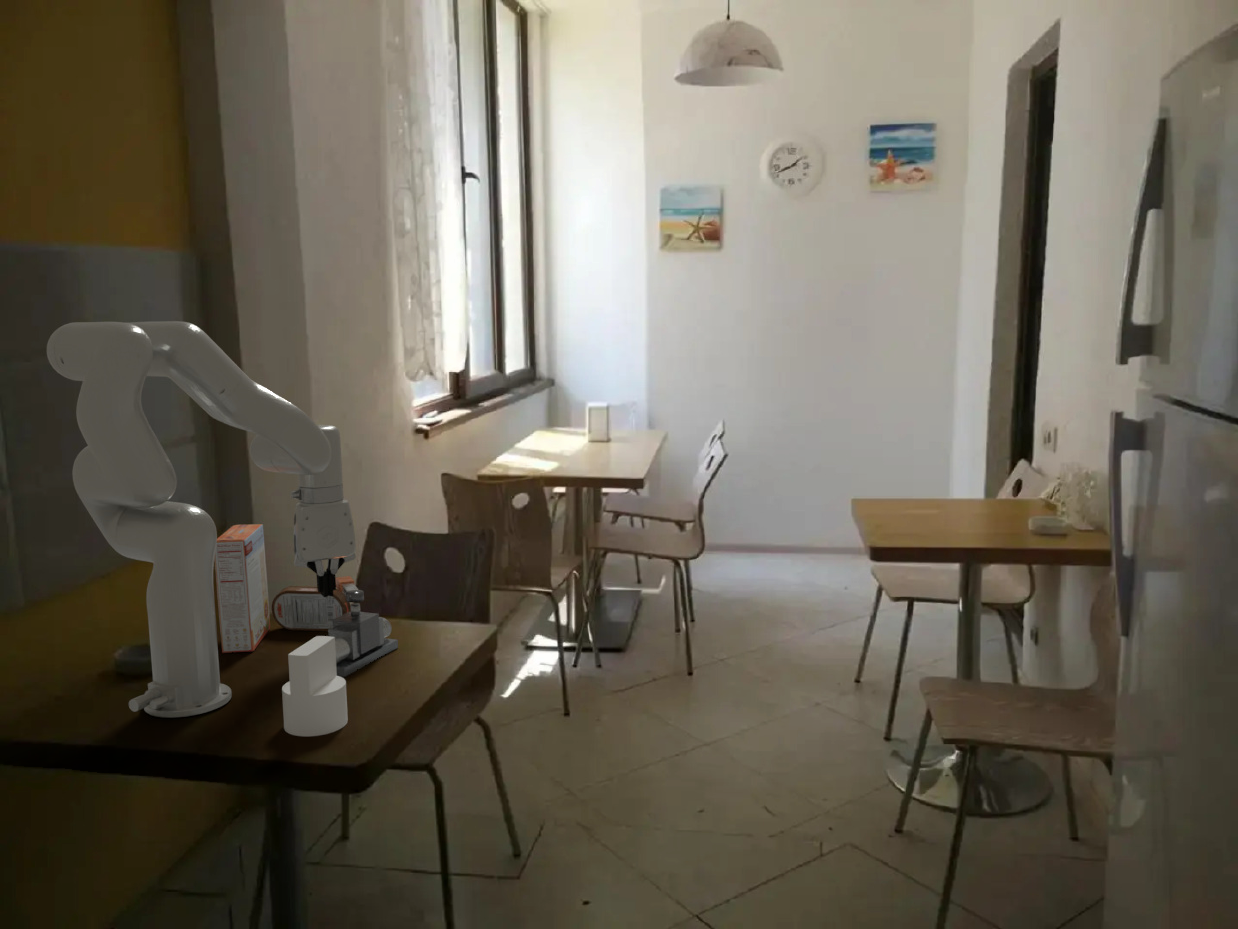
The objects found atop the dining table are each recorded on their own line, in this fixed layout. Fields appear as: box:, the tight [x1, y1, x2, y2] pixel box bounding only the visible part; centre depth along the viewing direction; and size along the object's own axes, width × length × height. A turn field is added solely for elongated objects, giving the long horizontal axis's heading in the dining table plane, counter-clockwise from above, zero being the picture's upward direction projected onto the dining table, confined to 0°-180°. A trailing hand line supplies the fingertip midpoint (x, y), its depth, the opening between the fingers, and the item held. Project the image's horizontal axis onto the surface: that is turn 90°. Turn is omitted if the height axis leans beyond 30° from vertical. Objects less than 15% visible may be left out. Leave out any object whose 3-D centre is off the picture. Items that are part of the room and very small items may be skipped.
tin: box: [271, 585, 351, 632], centre depth 194 cm, size 15×3×8 cm, turn 84°
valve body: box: [327, 602, 399, 678], centre depth 176 cm, size 16×6×10 cm, turn 159°
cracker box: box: [214, 523, 271, 654], centre depth 186 cm, size 14×6×21 cm, turn 6°
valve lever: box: [335, 575, 365, 603], centre depth 179 cm, size 12×3×2 cm, turn 26°
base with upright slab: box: [281, 635, 349, 737], centre depth 148 cm, size 9×9×12 cm
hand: (327, 594), depth 182 cm, fingers closed
